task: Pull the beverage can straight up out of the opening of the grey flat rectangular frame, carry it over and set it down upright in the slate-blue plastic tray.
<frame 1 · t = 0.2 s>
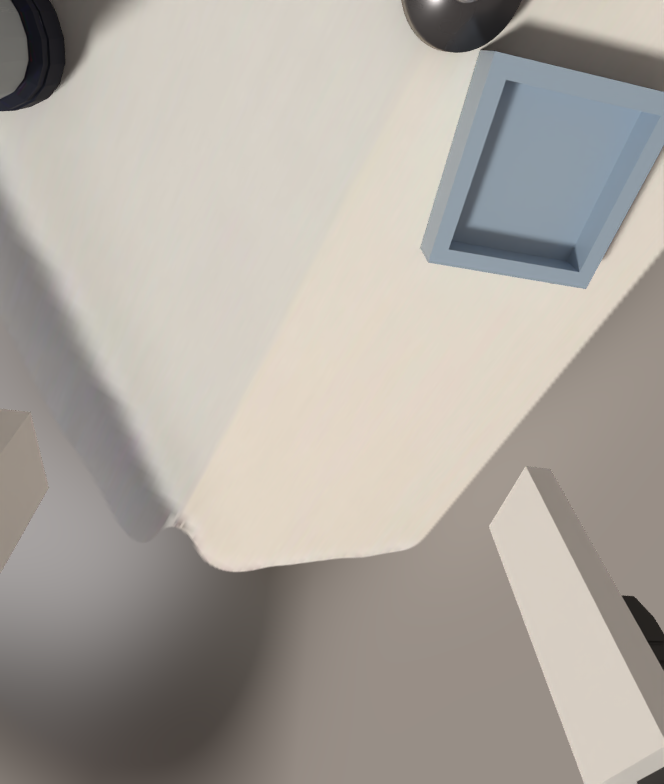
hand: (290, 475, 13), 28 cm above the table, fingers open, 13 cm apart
tray: (530, 176, 35), on the table
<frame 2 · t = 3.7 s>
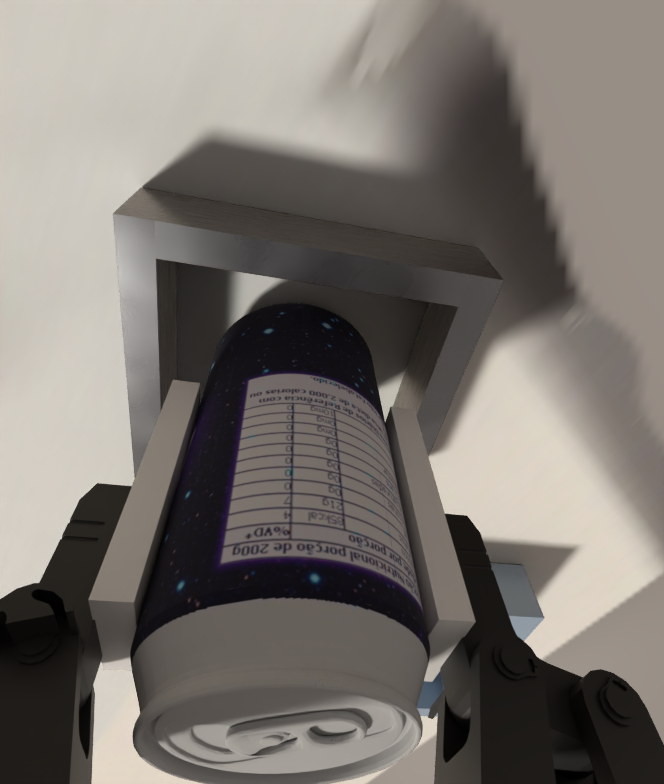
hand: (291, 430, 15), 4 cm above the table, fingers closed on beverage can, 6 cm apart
beverage can: (294, 358, 18), resting in grey flat rectangular frame, touching gripper
grey flat rectangular frame: (294, 360, 18), on the table
tray: (381, 618, 29), on the table
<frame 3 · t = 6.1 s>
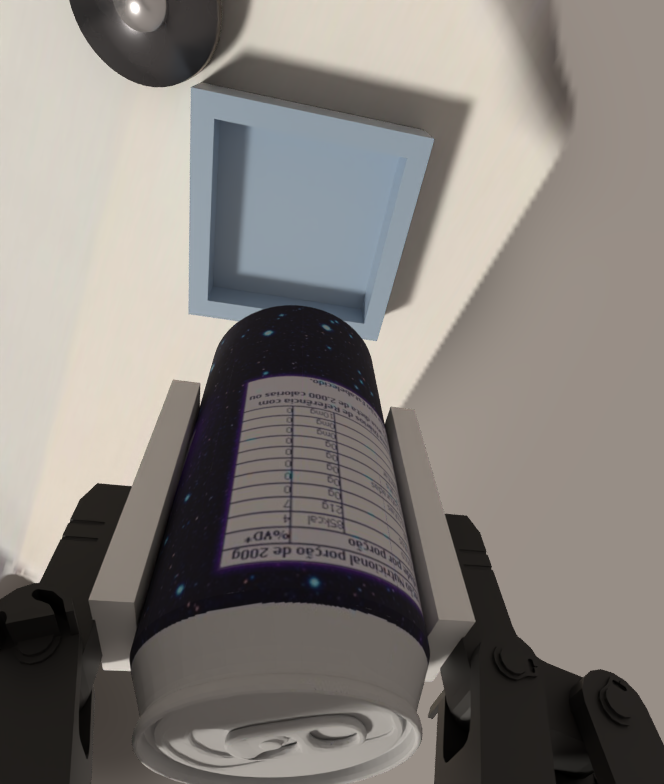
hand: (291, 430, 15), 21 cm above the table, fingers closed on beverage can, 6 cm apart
beverage can: (294, 359, 18), point 17 cm above the table, touching gripper
tray: (299, 219, 31), on the table
when the fingers open (7 cm above the table, at t = 8.5 s): beverage can drops 2 cm, resting on tray.
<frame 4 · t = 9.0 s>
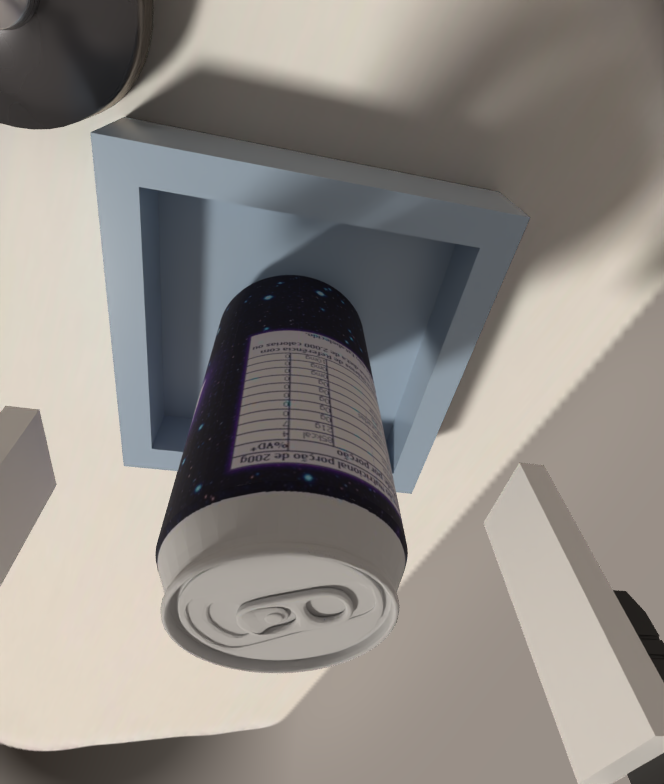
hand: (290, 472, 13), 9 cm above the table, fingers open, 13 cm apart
beverage can: (292, 328, 20), point 1 cm above the table, touching tray
tray: (295, 322, 20), on the table
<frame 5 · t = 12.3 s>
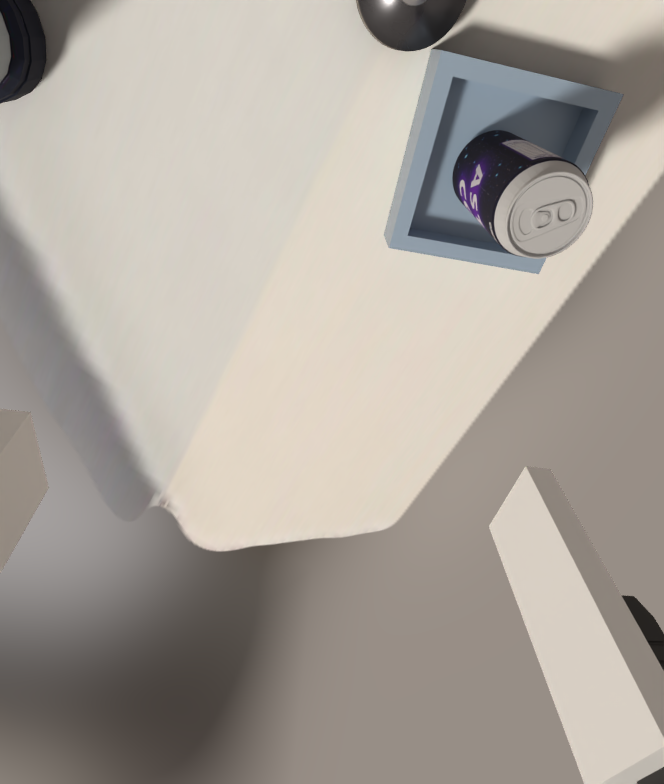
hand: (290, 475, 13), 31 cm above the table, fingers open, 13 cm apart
beverage can: (485, 169, 37), point 1 cm above the table, touching tray
tray: (484, 168, 37), on the table
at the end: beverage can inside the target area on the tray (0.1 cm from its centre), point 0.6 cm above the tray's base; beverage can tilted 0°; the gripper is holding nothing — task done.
